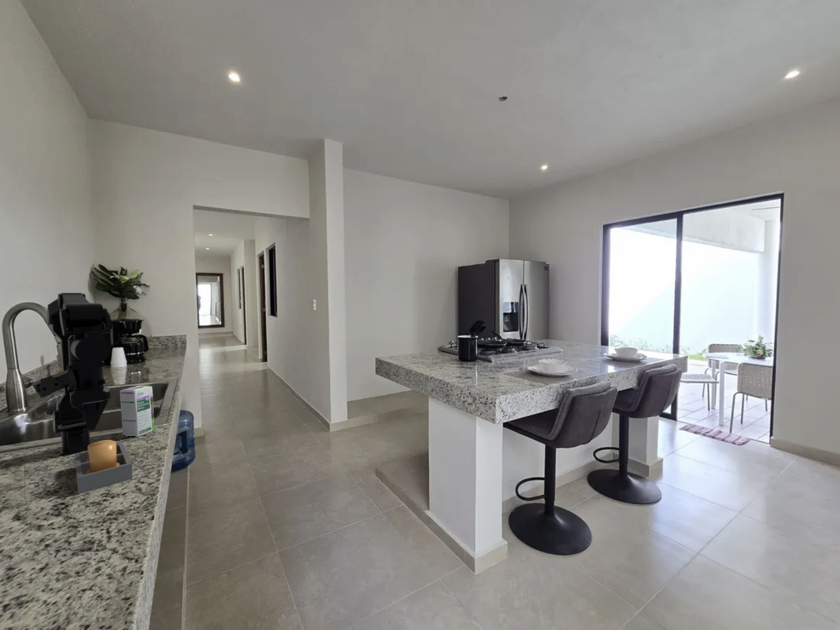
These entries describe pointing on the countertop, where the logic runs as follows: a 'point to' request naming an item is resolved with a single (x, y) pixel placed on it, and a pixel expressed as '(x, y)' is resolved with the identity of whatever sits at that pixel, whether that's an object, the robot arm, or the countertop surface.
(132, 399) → the syrup box
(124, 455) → the gray divided tray
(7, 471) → the countertop surface
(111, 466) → the tan pear-shaped knob
